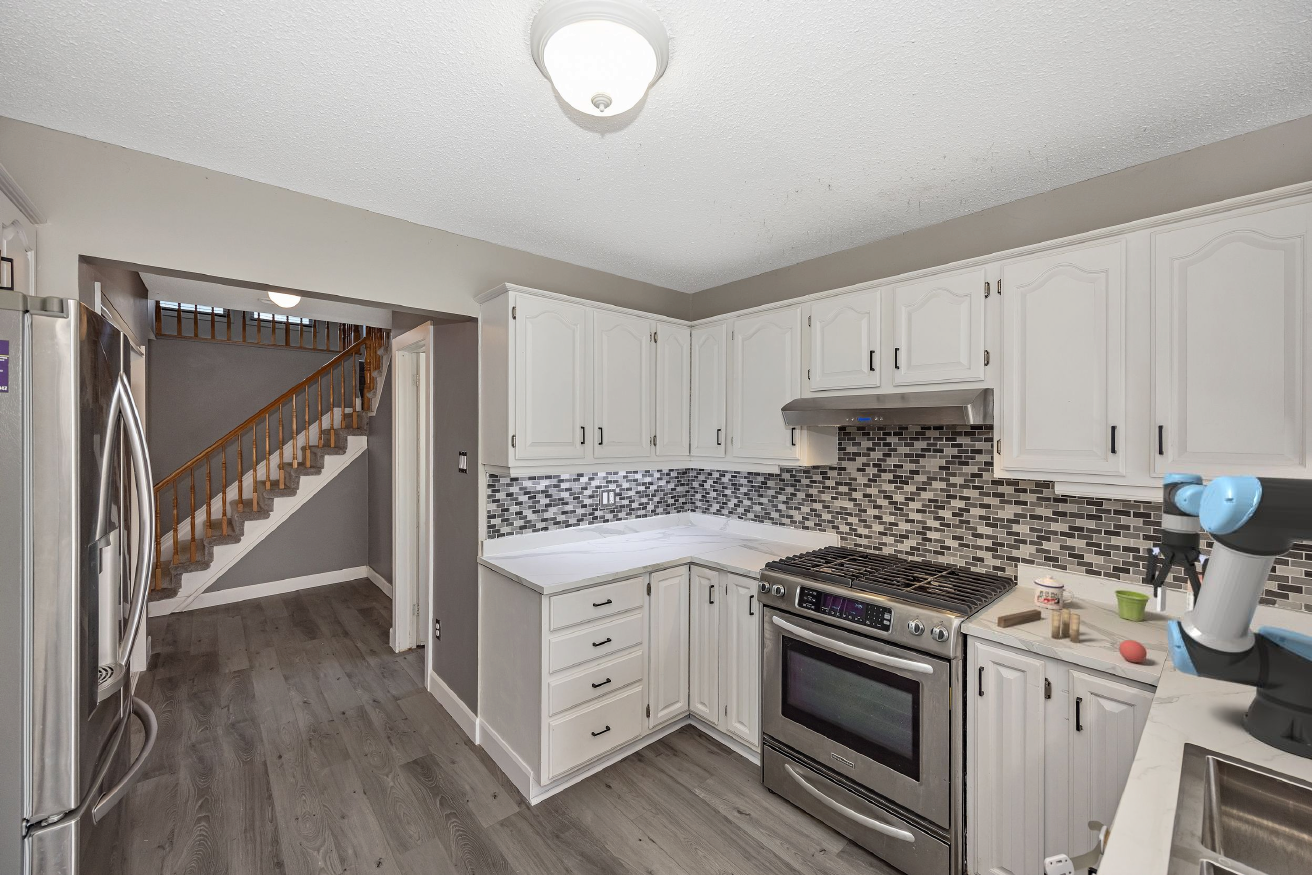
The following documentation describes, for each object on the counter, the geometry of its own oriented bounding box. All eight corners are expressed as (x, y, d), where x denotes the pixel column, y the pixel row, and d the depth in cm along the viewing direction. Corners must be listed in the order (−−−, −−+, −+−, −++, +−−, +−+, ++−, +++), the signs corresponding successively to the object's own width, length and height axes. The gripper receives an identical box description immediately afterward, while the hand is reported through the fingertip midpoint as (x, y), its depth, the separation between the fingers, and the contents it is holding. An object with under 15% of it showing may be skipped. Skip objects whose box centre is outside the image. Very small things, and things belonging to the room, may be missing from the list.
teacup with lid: (1033, 606, 201) (1034, 576, 201) (1033, 600, 209) (1034, 570, 208) (1074, 613, 194) (1075, 581, 194) (1072, 606, 202) (1073, 575, 202)
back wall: (1040, 619, 188) (1041, 611, 188) (1003, 627, 180) (1003, 619, 180) (1034, 617, 190) (1035, 609, 190) (997, 625, 182) (997, 616, 182)
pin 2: (1071, 637, 173) (1072, 610, 173) (1064, 636, 173) (1065, 610, 173) (1066, 634, 175) (1067, 608, 175) (1059, 634, 175) (1060, 608, 175)
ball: (1152, 666, 153) (1152, 645, 152) (1129, 665, 153) (1130, 644, 153) (1134, 657, 159) (1135, 637, 158) (1113, 656, 159) (1114, 636, 159)
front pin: (1080, 643, 168) (1081, 616, 168) (1073, 642, 169) (1074, 615, 168) (1075, 640, 171) (1076, 613, 170) (1068, 639, 171) (1069, 613, 170)
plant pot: (1155, 624, 185) (1156, 599, 185) (1124, 622, 187) (1125, 597, 187) (1137, 614, 194) (1138, 591, 194) (1107, 612, 196) (1108, 589, 196)
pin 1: (1061, 639, 171) (1062, 613, 171) (1054, 639, 171) (1055, 612, 171) (1056, 636, 173) (1057, 610, 173) (1049, 636, 173) (1050, 610, 173)
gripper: (1236, 536, 139) (1231, 625, 139) (1144, 523, 156) (1141, 601, 157) (1221, 538, 136) (1217, 629, 136) (1130, 524, 153) (1126, 605, 154)
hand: (1176, 614), depth 147 cm, fingers open, 6 cm apart
